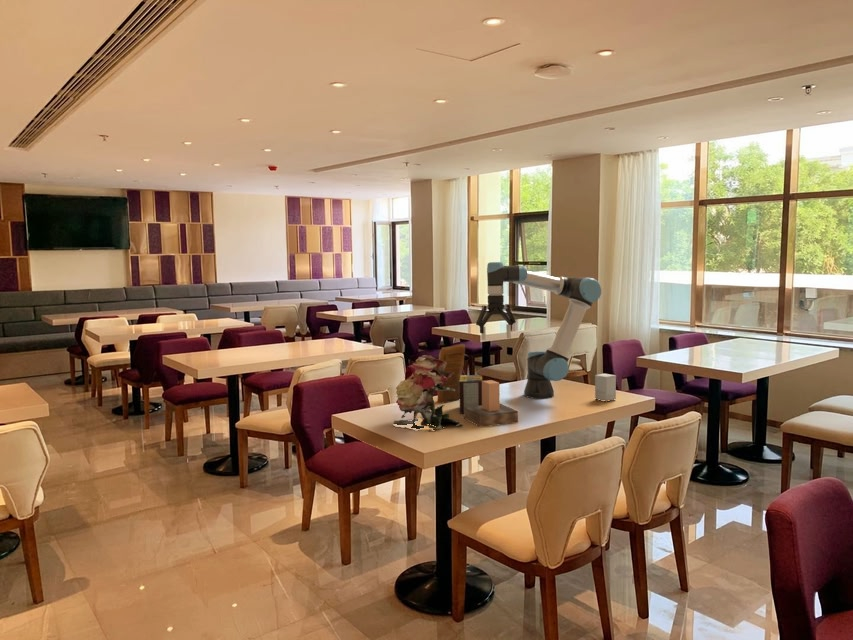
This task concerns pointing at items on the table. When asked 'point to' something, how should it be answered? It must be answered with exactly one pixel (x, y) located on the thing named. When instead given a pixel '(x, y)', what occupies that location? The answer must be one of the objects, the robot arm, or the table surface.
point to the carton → (490, 395)
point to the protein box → (470, 391)
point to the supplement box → (605, 387)
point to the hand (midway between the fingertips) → (496, 339)
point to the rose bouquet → (424, 392)
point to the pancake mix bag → (453, 364)
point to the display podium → (490, 415)
